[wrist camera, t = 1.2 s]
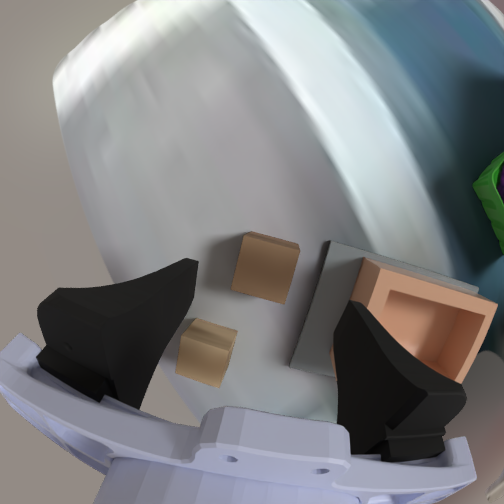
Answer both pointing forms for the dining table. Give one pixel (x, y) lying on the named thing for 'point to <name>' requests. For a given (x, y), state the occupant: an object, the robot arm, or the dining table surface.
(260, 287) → the walnut block
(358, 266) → the slate tray
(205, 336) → the oak block
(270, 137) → the dining table surface
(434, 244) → the dining table surface
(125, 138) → the dining table surface
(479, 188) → the fruit basket
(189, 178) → the dining table surface
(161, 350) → the robot arm
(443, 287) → the terracotta box
